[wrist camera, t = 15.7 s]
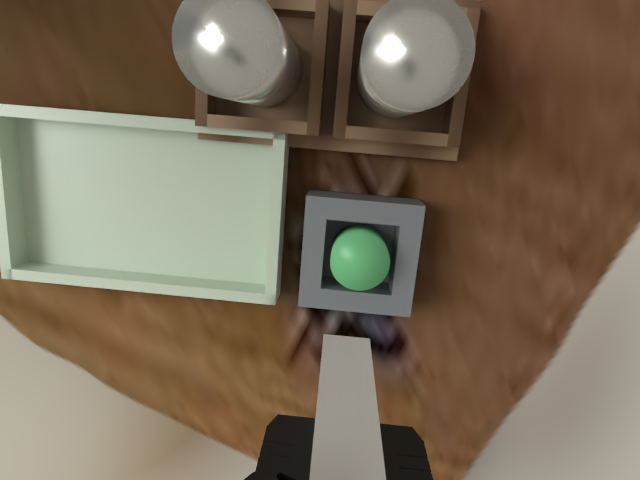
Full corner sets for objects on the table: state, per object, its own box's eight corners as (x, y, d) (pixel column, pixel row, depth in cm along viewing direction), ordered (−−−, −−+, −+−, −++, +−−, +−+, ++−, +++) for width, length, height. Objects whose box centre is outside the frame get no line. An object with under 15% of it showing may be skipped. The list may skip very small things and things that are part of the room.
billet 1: (227, 104, 31) (171, 94, 21) (229, 25, 30) (171, -25, 20) (299, 110, 31) (277, 102, 21) (304, 30, 29) (283, -17, 20)
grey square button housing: (302, 291, 35) (298, 306, 32) (309, 189, 33) (305, 195, 30) (405, 301, 35) (410, 317, 32) (419, 199, 33) (425, 206, 30)
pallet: (203, 138, 33) (187, 140, 30) (205, -14, 30) (189, -30, 27) (453, 159, 32) (464, 163, 29) (476, 5, 29) (491, -9, 26)
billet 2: (355, 117, 30) (358, 109, 21) (358, 37, 29) (364, -11, 20) (429, 119, 30) (469, 112, 20) (436, 39, 29) (481, -9, 19)
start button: (329, 273, 34) (327, 287, 31) (334, 221, 33) (332, 230, 30) (383, 278, 33) (386, 293, 30) (389, 226, 32) (393, 236, 29)
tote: (24, 268, 36) (1, 278, 34) (10, 104, 33) (-17, 102, 30) (280, 293, 35) (275, 305, 33) (290, 127, 32) (285, 127, 30)
